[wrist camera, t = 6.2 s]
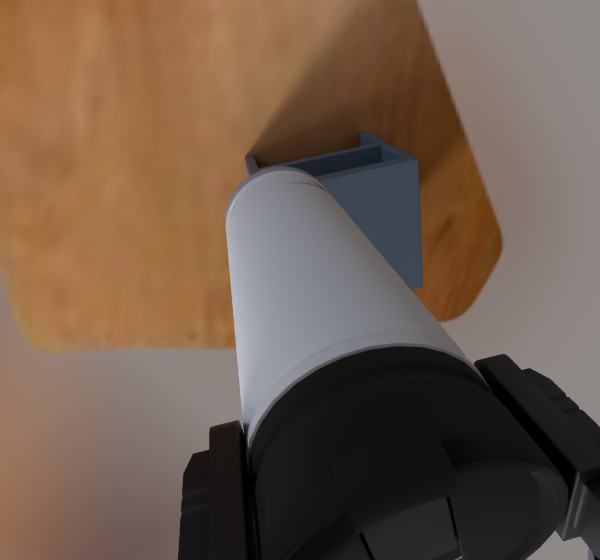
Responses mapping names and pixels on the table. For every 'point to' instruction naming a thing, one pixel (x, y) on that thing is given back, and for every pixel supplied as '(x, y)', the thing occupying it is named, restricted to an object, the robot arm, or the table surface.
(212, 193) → the table surface
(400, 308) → the travel mug
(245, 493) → the robot arm
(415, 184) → the shelf
